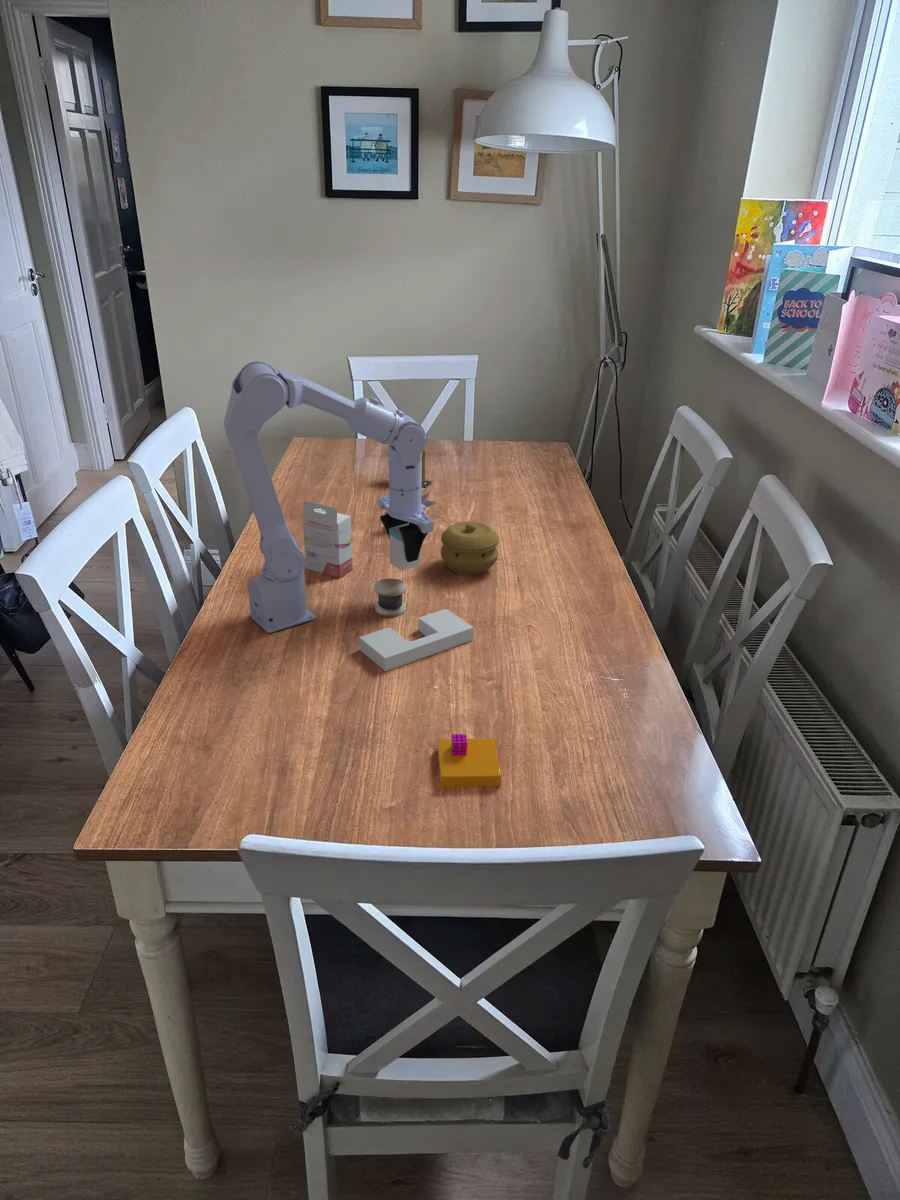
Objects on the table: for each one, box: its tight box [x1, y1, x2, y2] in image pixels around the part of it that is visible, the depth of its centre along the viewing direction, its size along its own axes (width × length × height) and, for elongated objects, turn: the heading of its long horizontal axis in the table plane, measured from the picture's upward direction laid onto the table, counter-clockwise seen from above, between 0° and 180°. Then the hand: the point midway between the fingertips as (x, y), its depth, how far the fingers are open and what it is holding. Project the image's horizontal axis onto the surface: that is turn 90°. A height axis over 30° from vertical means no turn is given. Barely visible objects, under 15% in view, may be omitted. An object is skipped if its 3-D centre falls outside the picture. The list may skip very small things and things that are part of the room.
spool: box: [374, 578, 407, 618], centre depth 148 cm, size 6×6×5 cm
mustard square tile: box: [437, 733, 502, 788], centre depth 109 cm, size 8×8×4 cm
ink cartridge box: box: [302, 499, 353, 579], centre depth 159 cm, size 9×5×15 cm, turn 62°
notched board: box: [358, 608, 475, 672], centre depth 137 cm, size 18×8×2 cm, turn 127°
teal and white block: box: [389, 522, 421, 572], centre depth 147 cm, size 4×4×7 cm
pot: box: [440, 521, 500, 575], centre depth 163 cm, size 12×12×10 cm
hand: (405, 555), depth 148 cm, fingers closed on teal and white block, 4 cm apart
